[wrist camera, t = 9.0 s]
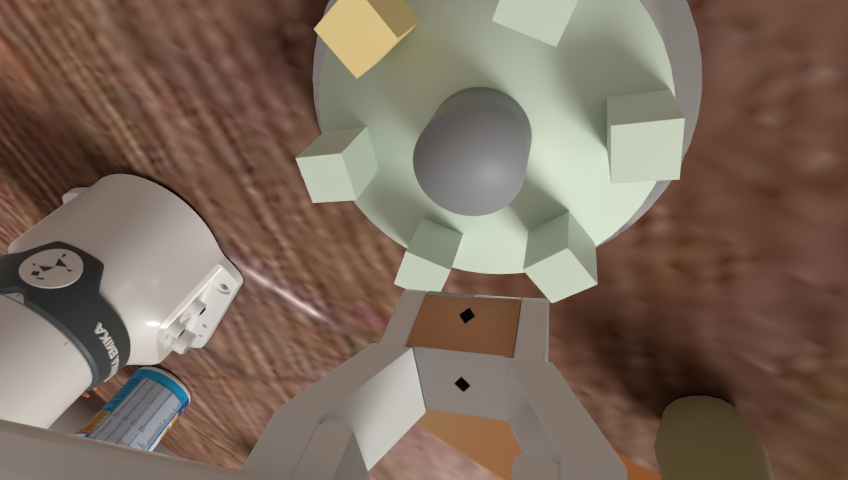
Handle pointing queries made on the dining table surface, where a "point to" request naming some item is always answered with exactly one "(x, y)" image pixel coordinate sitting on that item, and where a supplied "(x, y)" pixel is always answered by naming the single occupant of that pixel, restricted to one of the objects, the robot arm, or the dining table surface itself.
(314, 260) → the dining table surface
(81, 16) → the dining table surface
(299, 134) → the dining table surface
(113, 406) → the blue wipes canister
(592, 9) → the green toy gear
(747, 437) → the squeeze bottle
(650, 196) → the mount plate
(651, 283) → the dining table surface
